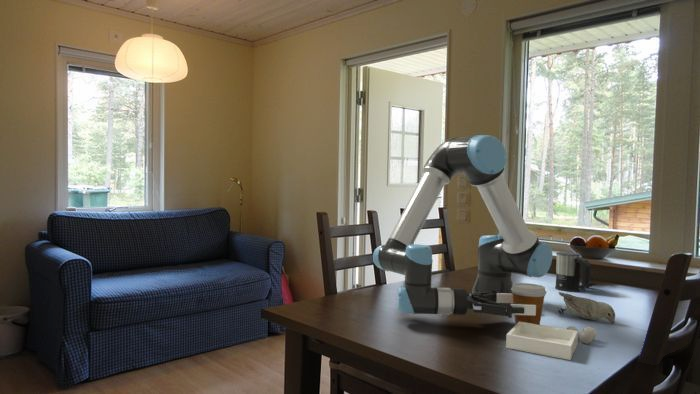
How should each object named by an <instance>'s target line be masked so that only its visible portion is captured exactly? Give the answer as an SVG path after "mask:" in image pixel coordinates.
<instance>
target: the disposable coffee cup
mask: <svg viewBox="0 0 700 394" xmlns="http://www.w3.org/2000/svg"><path fill="white" fill-rule="evenodd" d="M511 290H512V293H513V304H524V305H536V316H534V315H514V324H515V325H516V324H517V323H518V322H525V323H532V324H538V325H541V321H542V319H541V318H542V313H543V307H544V301H545V296H546V294H547V291H546V287H545V286H543V285H540V284H536V283H527V282H517V283H513V286H512V288H511ZM515 325H514V326H515Z"/></svg>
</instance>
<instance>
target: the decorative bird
mask: <svg viewBox="0 0 700 394" xmlns="http://www.w3.org/2000/svg"><path fill="white" fill-rule="evenodd" d="M558 294H559V296H560V297H563V301H564V305H565V308H563V309H562V306H561V305H559V307H560V308H559V307H557V308H558V310H557V312H558V313H559V315H562V314H564V311H565V310H566V311H567V310H568V312H569V313H571V314H573V315H575V316H576V317H578V318H579V317H580V318H583V319H586V320H591V321H592V320H593V321H596V320H599V319H605V320H607V321H609V322H610V323H611V324H613V325H615V322H616V313H615V309H614V308H613V306H612V305H610V304H609V303H607V302H603V301H597V300H594V299H591V298H587V297H580V296H576V295H572V294H570V293H567V292H566V293H565V292H561V291H558Z"/></svg>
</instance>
